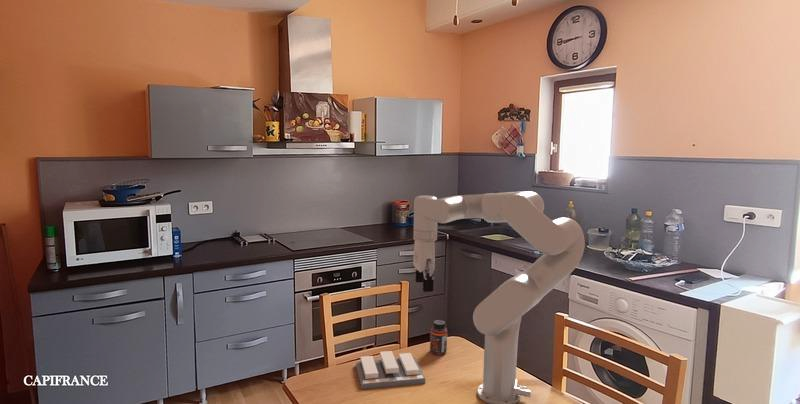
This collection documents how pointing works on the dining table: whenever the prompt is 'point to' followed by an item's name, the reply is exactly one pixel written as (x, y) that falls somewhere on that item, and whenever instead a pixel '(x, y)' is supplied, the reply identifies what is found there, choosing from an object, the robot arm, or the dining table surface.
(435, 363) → the dining table surface
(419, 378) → the switch board
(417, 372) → the switch
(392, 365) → the middle switch
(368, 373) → the switch
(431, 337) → the supplement bottle
